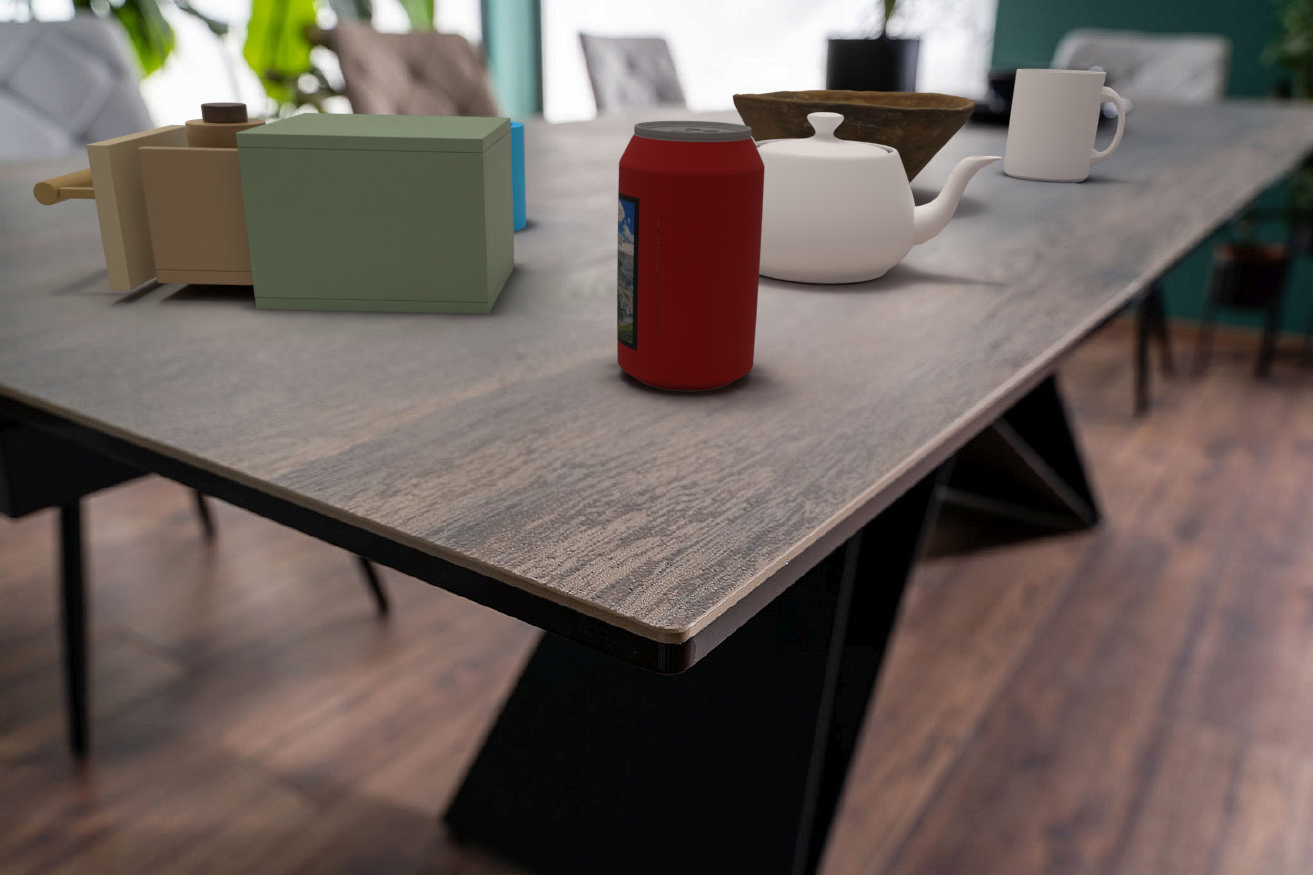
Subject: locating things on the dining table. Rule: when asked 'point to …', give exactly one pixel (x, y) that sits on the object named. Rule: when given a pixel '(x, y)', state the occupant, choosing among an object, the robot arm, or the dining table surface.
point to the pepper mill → (219, 125)
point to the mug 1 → (518, 175)
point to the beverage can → (688, 254)
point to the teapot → (845, 206)
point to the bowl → (862, 119)
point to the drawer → (163, 209)
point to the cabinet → (378, 212)
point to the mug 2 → (1058, 124)
